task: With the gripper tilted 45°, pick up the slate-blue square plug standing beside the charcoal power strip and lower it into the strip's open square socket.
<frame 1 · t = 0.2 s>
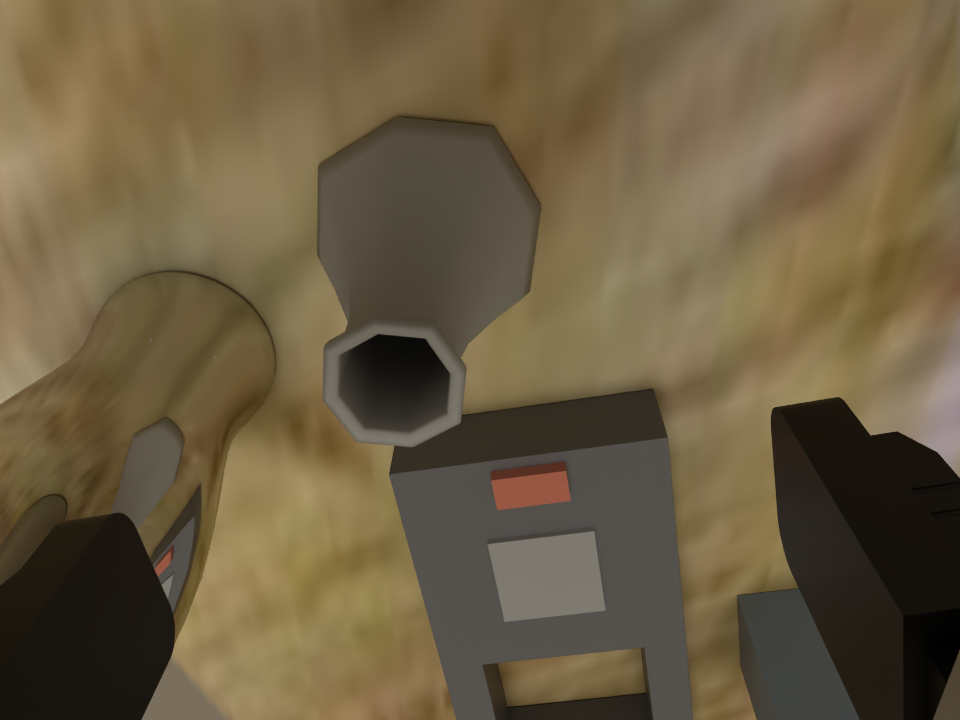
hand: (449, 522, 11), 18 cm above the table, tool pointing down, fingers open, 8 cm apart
beer glass: (189, 349, 30), on the table
plug: (789, 626, 35), on the table
flask: (428, 225, 28), on the table
power strip: (567, 651, 36), on the table
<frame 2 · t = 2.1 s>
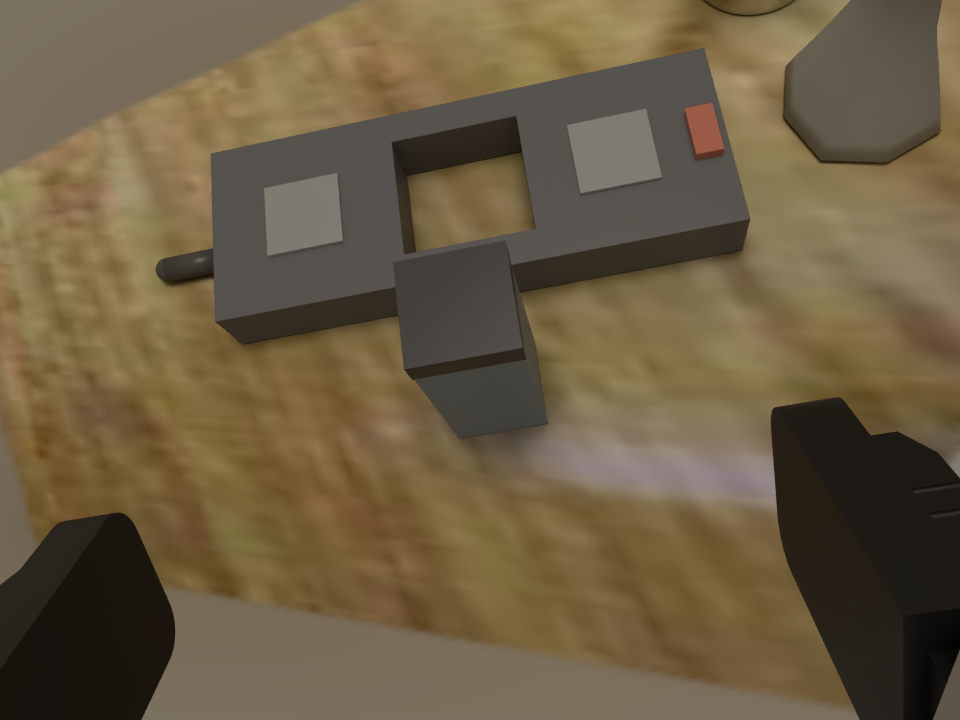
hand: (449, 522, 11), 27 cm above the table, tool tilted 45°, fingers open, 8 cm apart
plug: (497, 388, 40), on the table
flask: (858, 103, 42), on the table
power strip: (472, 215, 43), on the table
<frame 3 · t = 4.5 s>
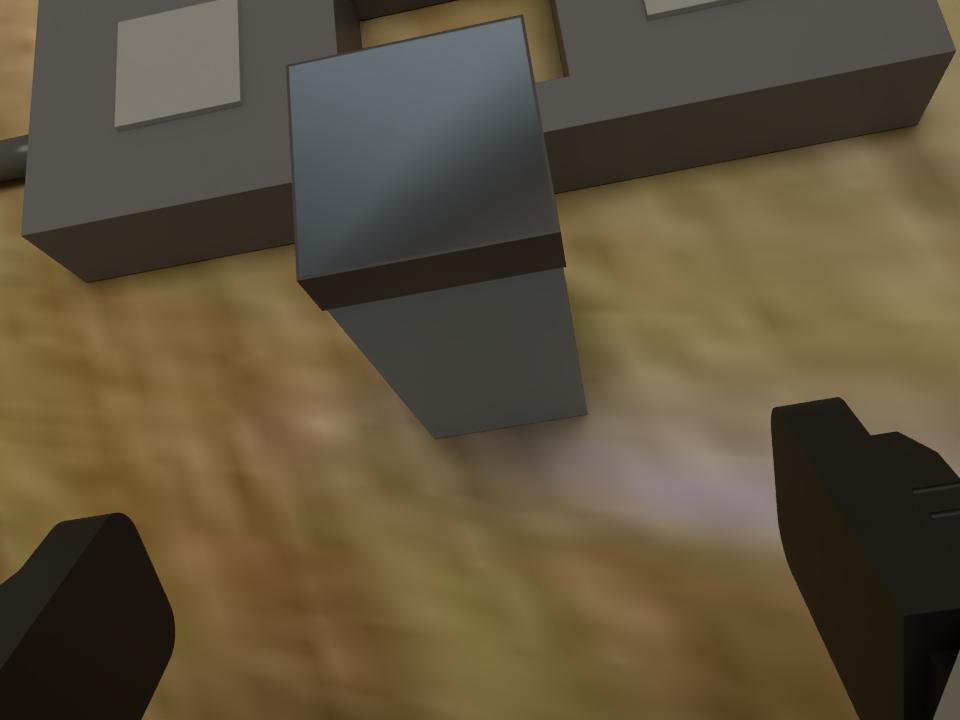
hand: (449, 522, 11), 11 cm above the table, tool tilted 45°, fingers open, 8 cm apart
plug: (500, 354, 23), on the table
power strip: (462, 78, 26), on the table
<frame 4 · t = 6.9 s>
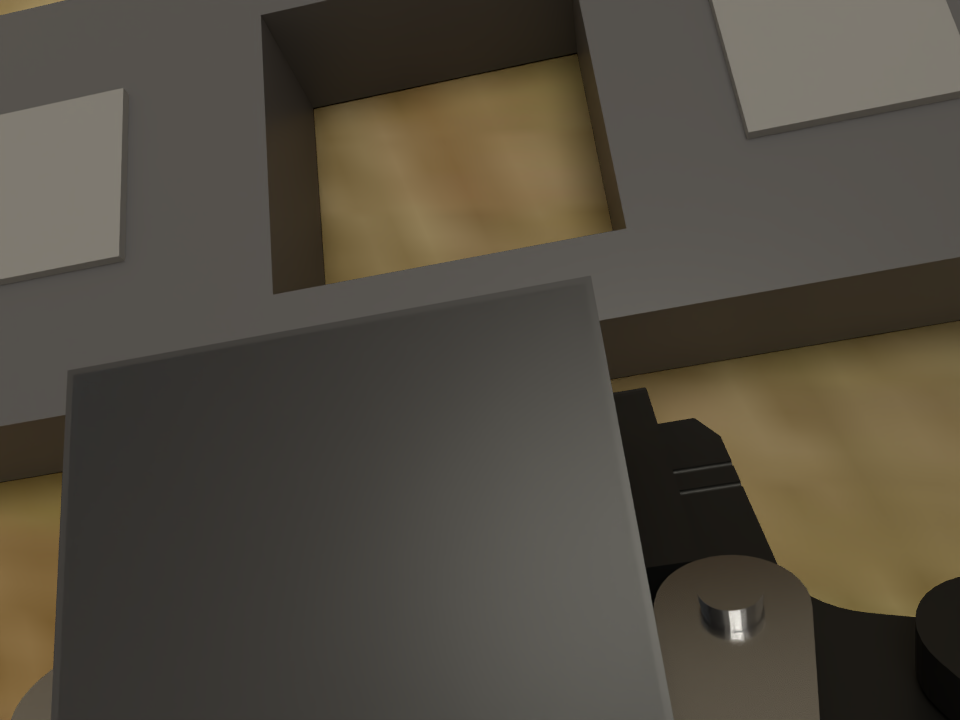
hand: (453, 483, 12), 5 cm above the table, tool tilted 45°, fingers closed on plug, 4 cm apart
plug: (517, 646, 15), on the table, touching gripper
power strip: (458, 197, 18), on the table
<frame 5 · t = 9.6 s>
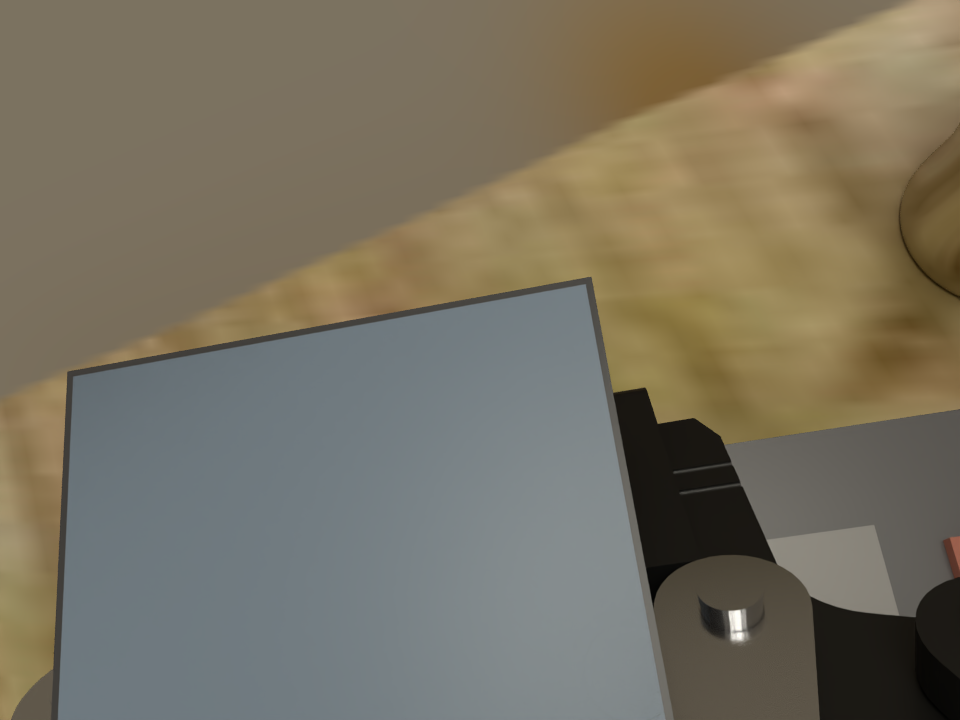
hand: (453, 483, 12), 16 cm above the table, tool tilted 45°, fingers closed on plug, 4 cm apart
plug: (517, 646, 15), point 11 cm above the table, touching gripper
power strip: (555, 645, 26), on the table
when the fingers open (6 cm above the table, at t = 12.3 s): plug drops 2 cm, resting in power strip.
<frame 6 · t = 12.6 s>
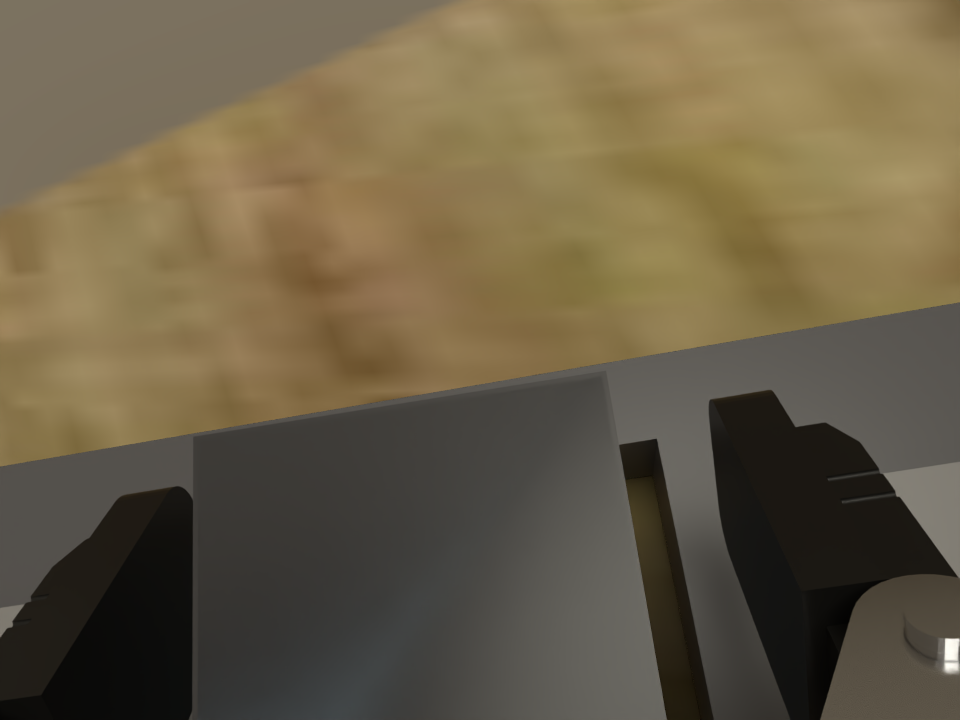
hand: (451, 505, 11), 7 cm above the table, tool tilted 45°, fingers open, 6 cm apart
plug: (532, 650, 17), resting in power strip
power strip: (527, 649, 17), on the table
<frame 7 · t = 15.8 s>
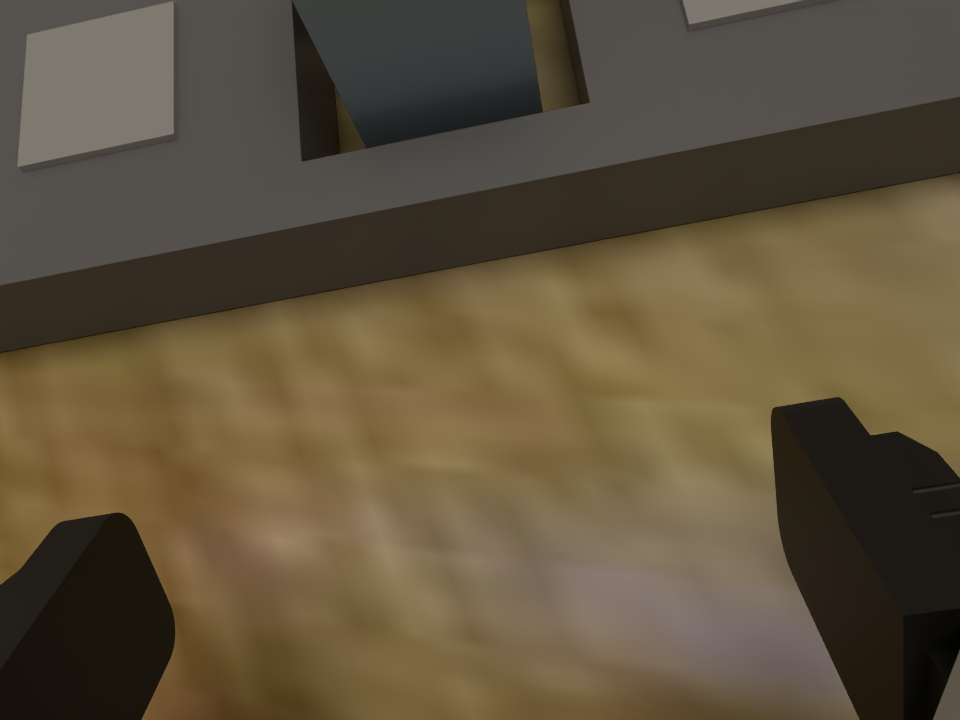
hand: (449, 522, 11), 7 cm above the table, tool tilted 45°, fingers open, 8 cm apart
plug: (457, 101, 22), resting in power strip
power strip: (454, 100, 22), on the table
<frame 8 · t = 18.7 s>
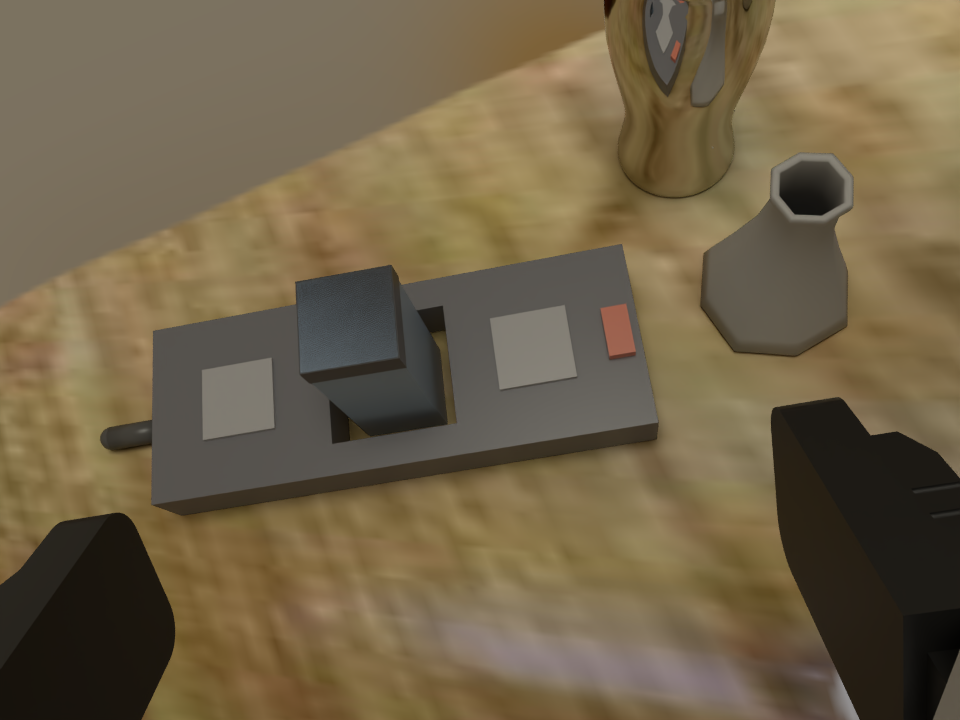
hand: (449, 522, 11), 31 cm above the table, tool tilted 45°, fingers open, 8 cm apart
beer glass: (675, 150, 47), on the table
plug: (405, 392, 45), resting in power strip
flask: (772, 292, 43), on the table
power strip: (403, 392, 45), on the table
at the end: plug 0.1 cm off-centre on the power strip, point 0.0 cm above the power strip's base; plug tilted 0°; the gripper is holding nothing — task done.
